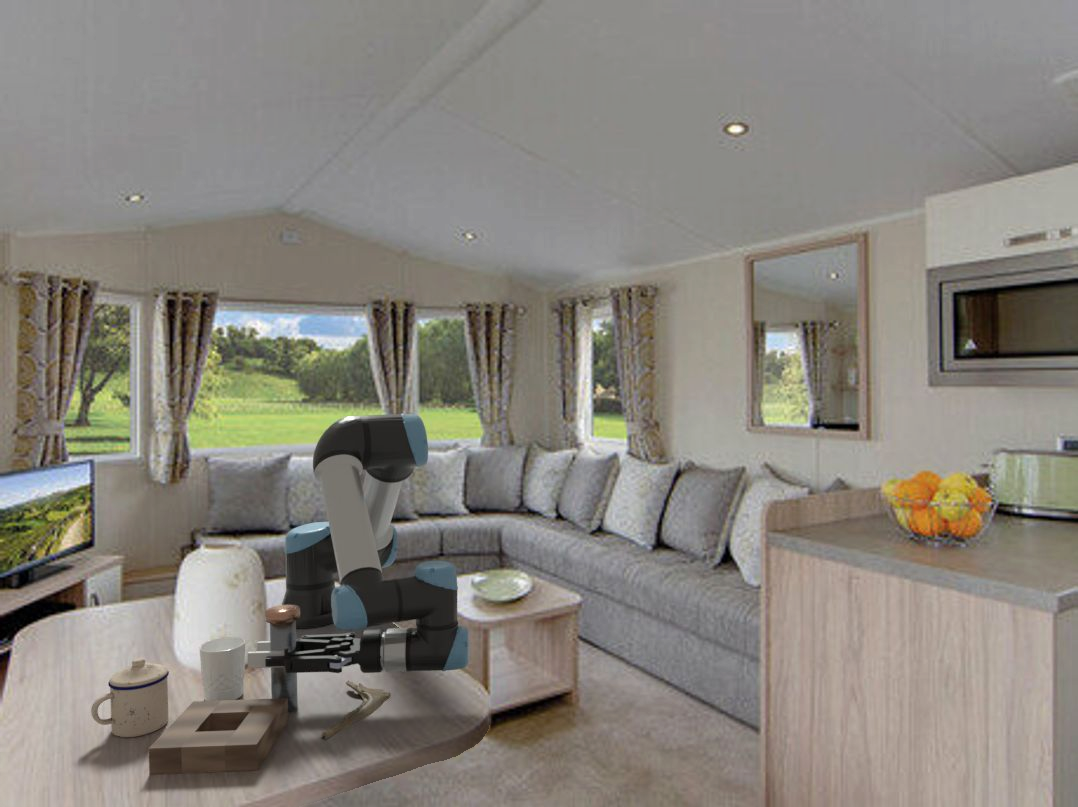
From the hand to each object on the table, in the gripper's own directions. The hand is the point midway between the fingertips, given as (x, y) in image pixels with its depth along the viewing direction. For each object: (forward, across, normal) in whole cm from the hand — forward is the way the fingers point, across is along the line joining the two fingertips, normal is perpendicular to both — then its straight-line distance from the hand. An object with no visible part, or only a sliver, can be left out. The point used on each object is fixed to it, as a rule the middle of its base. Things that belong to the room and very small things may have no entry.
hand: (253, 654), depth 130 cm
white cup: (+8, +6, -10) cm, 14 cm away
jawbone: (-16, -2, -11) cm, 19 cm away
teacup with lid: (+19, -6, -10) cm, 22 cm away
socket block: (+1, -13, -10) cm, 16 cm away
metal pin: (-5, 0, -10) cm, 11 cm away
